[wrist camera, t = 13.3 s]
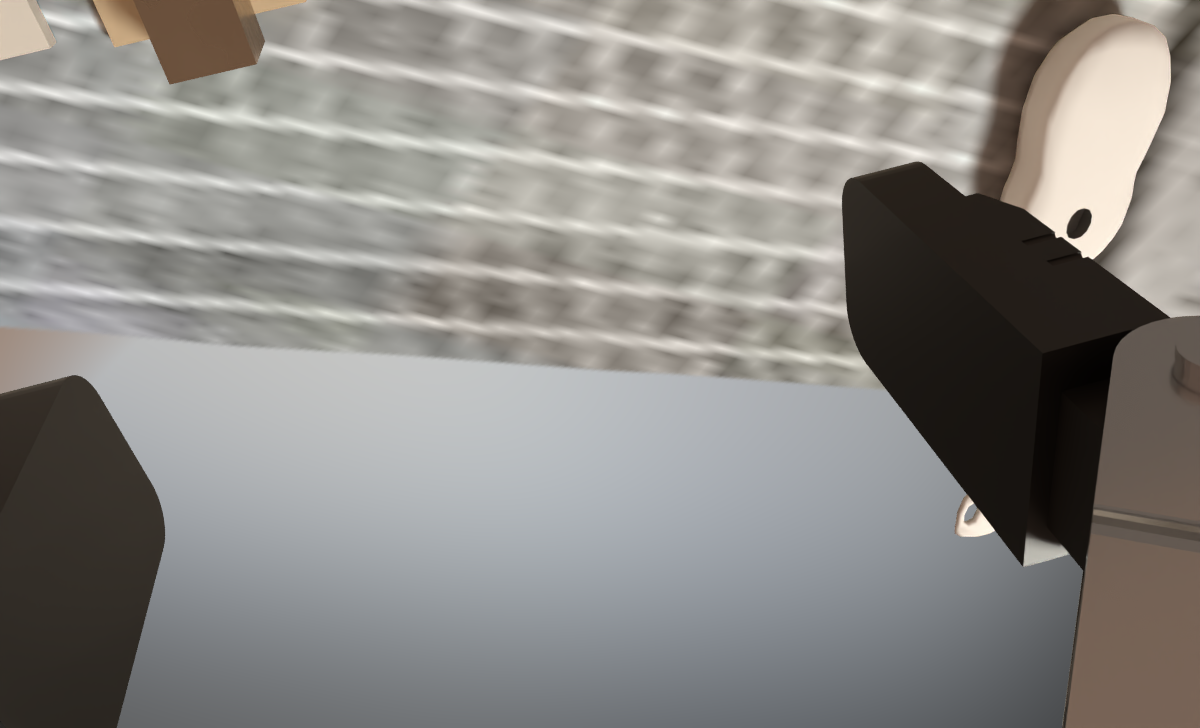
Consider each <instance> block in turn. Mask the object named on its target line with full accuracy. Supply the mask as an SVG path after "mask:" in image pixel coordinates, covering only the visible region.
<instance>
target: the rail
mask: <svg viewBox="0 0 1200 728" xmlns="http://www.w3.org/2000/svg"><path fill="white" fill-rule="evenodd" d="M133 1H134V3H135V6H136V8H137V10H138V13H139V15H140V17H141V19H142V22H143V24H144V26H145V29H146V31H147V33H148V36H149V38H150V40H151V42H152V45H153V47H154V49H155V52H156V54H157V56H158V59H159V61H160V63H161V65H162V68H163V70H164V72H165V75H166V77H167V79H168V82H169V84H174V83H178V82H182V81H187V80H191V79H195V78H199V77H204V76H208V75H212V74H216V73H221V72H225V71H229V70H233V69H238V68H242V67H246V66H250V65H255V64H257V62H258V59H259V56H260V53H261V51H262V48H263V45H264V42H265V40H264V37H263V34H262V32H261V29H260V26H259V24H258V21H257V18H256V16H255V13H254V10H253V7H252V5H251V2H250V0H133Z"/></svg>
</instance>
